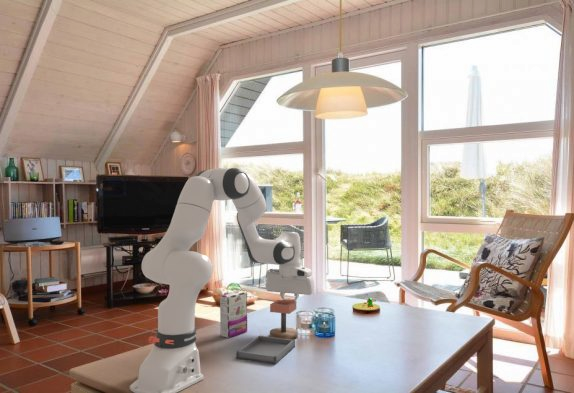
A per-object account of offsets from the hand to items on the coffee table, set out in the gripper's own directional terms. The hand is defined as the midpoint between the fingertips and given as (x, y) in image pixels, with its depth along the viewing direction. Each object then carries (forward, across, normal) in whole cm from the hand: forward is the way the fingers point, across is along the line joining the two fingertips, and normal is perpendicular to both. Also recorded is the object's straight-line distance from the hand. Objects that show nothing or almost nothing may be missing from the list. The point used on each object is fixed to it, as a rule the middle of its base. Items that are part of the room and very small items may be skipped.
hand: (289, 303), depth 187 cm
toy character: (+12, +24, +45) cm, 52 cm away
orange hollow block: (+1, 0, -5) cm, 5 cm away
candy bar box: (+12, -20, -11) cm, 25 cm away
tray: (+12, +1, -26) cm, 28 cm away
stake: (+12, 0, -7) cm, 13 cm away
